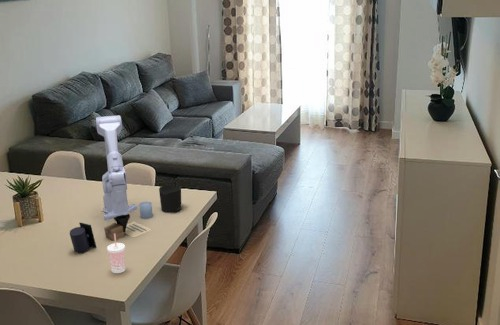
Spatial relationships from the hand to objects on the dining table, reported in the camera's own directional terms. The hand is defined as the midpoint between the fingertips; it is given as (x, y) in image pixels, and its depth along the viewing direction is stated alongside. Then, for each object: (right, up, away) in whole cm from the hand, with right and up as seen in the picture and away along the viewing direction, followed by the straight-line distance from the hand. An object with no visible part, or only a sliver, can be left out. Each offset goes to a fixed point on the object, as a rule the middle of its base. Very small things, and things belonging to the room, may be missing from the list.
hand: (122, 231), depth 219 cm
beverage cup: (+4, -10, -26) cm, 29 cm away
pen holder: (+16, +7, +22) cm, 29 cm away
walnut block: (-3, -2, -2) cm, 4 cm away
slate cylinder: (+6, +4, +15) cm, 17 cm away
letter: (+3, 0, +4) cm, 5 cm away
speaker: (-12, -6, -12) cm, 18 cm away
